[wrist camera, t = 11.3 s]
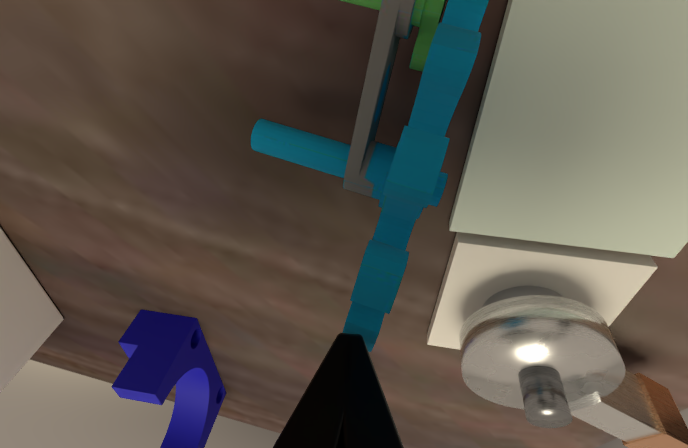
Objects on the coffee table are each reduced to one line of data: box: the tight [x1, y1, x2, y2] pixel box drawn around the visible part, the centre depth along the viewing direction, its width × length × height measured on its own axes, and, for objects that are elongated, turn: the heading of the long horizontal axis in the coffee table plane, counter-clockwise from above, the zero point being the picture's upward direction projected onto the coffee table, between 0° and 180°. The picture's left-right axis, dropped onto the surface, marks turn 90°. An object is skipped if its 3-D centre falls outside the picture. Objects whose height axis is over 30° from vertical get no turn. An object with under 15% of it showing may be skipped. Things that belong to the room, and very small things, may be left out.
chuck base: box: [427, 232, 658, 349], centre depth 20 cm, size 9×9×2 cm
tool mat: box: [449, 0, 688, 258], centre depth 13 cm, size 10×14×1 cm
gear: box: [251, 0, 489, 352], centre depth 11 cm, size 11×6×10 cm, turn 170°
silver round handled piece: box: [459, 295, 688, 448], centre depth 19 cm, size 13×7×5 cm, turn 60°
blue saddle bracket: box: [112, 310, 226, 448], centre depth 30 cm, size 12×4×6 cm, turn 179°
